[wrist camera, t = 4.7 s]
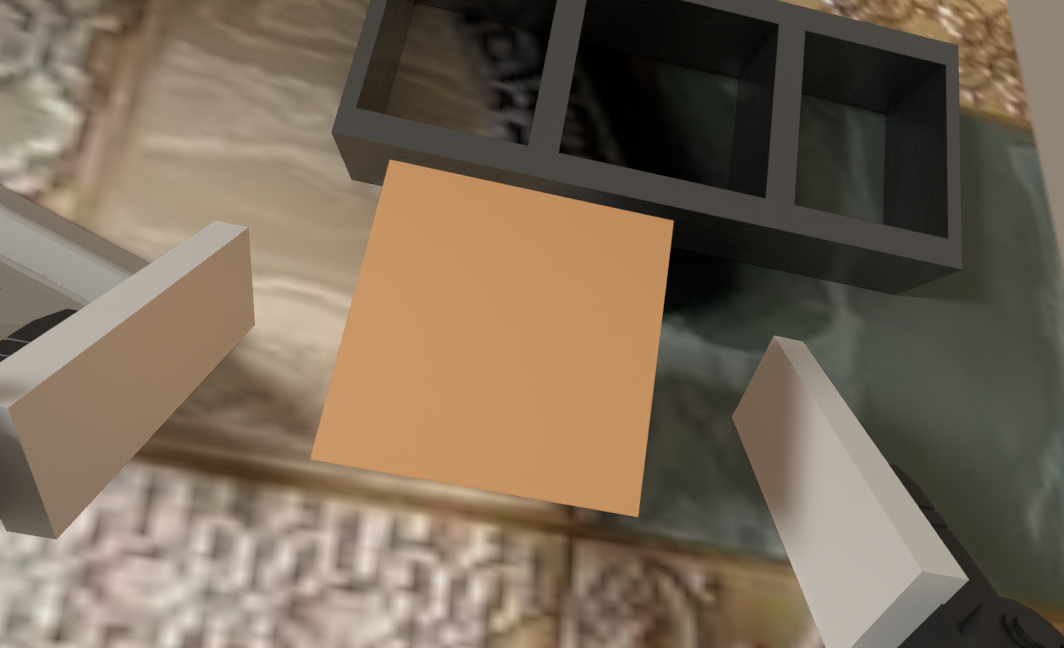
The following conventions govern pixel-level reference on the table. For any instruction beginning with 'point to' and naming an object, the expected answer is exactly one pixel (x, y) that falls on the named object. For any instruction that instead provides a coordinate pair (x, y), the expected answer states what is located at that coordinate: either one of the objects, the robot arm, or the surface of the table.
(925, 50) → the grey compartment tray
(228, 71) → the table surface
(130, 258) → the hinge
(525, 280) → the square peg
